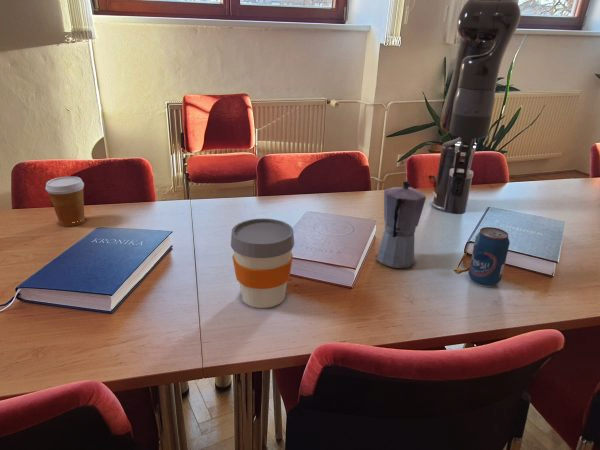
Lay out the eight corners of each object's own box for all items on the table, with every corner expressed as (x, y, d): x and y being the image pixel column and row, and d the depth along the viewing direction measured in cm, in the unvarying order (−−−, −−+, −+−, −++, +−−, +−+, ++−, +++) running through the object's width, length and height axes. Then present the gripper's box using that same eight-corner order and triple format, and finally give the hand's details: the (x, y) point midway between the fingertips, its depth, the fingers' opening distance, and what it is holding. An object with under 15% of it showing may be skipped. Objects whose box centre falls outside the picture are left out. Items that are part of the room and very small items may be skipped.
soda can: (462, 280, 100) (471, 232, 95) (474, 269, 105) (484, 223, 100) (492, 292, 96) (504, 242, 91) (504, 280, 100) (516, 232, 96)
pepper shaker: (444, 204, 100) (451, 166, 96) (467, 208, 98) (474, 169, 95) (442, 212, 96) (448, 172, 92) (465, 216, 94) (472, 175, 91)
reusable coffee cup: (270, 320, 85) (270, 251, 79) (220, 300, 91) (216, 233, 85) (304, 291, 94) (306, 227, 88) (257, 274, 100) (256, 213, 94)
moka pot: (418, 251, 113) (429, 176, 105) (412, 280, 99) (424, 197, 91) (381, 245, 115) (389, 171, 107) (370, 273, 102) (378, 191, 94)
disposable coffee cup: (45, 225, 122) (35, 184, 117) (73, 213, 130) (65, 174, 125) (71, 231, 119) (62, 189, 114) (98, 218, 127) (91, 178, 122)
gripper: (491, 119, 81) (474, 205, 88) (493, 108, 93) (478, 184, 100) (448, 115, 84) (435, 199, 91) (456, 105, 96) (443, 180, 103)
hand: (457, 191), depth 95 cm, fingers closed on pepper shaker, 4 cm apart
